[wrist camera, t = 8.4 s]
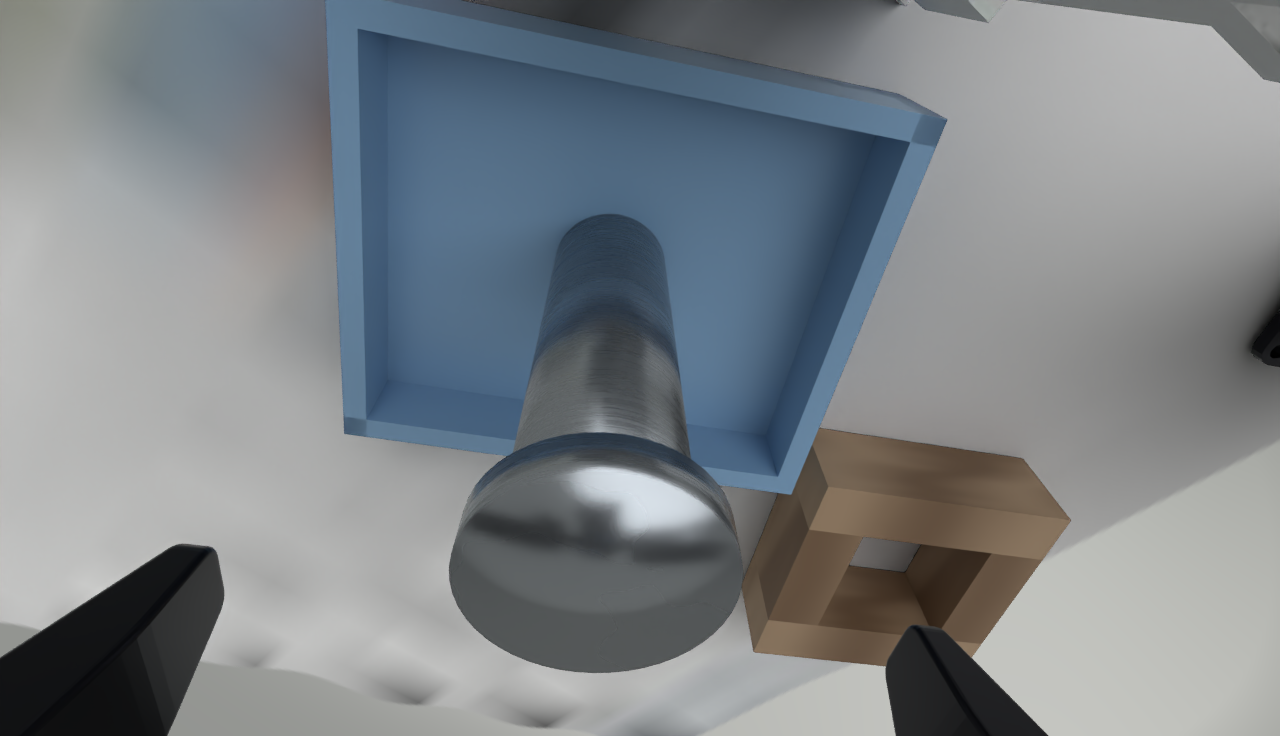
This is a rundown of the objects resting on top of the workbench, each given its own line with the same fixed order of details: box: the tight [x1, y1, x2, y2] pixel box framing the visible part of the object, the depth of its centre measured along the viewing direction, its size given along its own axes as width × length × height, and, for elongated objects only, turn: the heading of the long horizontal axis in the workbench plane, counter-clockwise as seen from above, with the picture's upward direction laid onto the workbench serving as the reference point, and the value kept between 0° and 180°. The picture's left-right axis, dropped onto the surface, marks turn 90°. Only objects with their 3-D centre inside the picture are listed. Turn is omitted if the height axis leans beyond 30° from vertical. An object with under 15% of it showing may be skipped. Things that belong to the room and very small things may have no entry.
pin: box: [449, 214, 743, 673], centre depth 14 cm, size 4×4×11 cm
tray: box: [325, 0, 947, 495], centre depth 18 cm, size 13×11×3 cm
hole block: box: [742, 428, 1071, 666], centre depth 24 cm, size 8×8×3 cm
